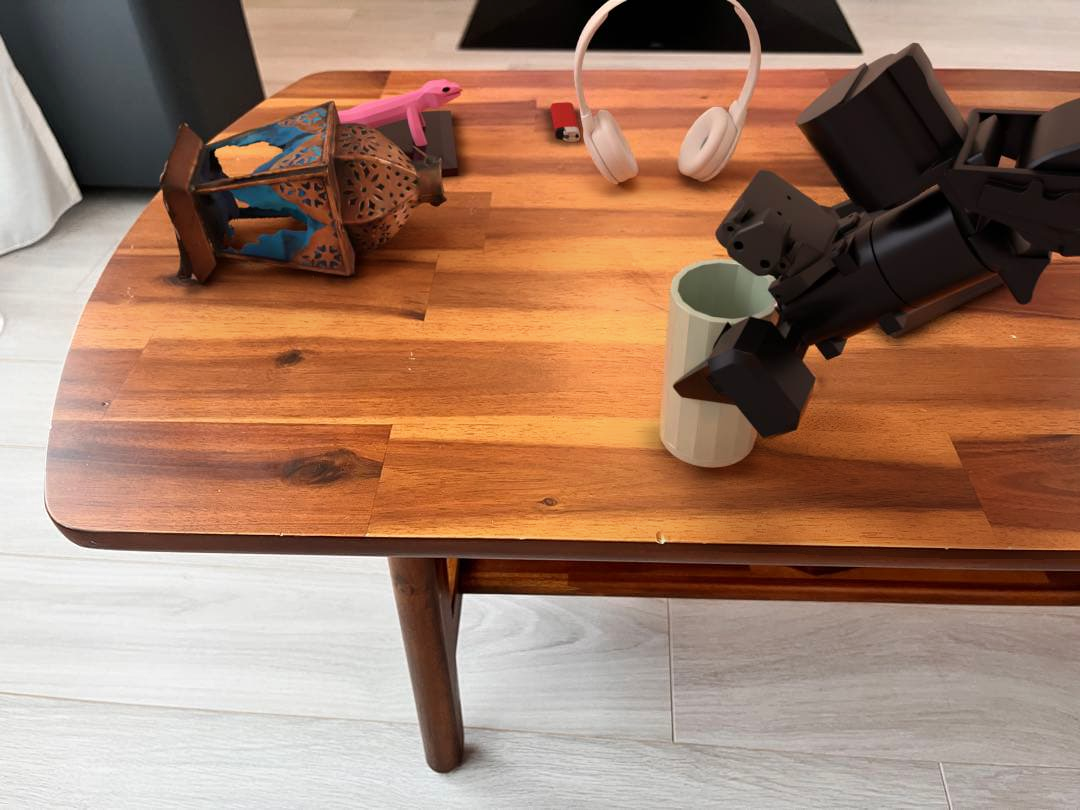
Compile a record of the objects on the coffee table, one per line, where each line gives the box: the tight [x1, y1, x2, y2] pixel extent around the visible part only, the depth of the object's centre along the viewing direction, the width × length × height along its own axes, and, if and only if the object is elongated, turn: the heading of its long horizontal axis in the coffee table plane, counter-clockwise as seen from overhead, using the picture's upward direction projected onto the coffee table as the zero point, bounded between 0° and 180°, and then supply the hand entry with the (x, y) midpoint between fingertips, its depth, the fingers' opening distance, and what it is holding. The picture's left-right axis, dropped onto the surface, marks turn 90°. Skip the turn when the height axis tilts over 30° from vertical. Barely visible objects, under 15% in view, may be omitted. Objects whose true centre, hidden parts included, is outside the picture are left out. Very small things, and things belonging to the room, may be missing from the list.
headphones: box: [573, 0, 762, 185], centre depth 90 cm, size 7×18×20 cm, turn 93°
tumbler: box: [658, 258, 779, 468], centre depth 62 cm, size 7×7×13 cm
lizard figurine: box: [337, 78, 464, 177], centre depth 100 cm, size 15×20×7 cm
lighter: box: [550, 101, 581, 143], centre depth 106 cm, size 3×1×8 cm
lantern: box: [159, 100, 448, 285], centre depth 83 cm, size 16×16×25 cm
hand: (696, 358), depth 62 cm, fingers closed on tumbler, 7 cm apart
